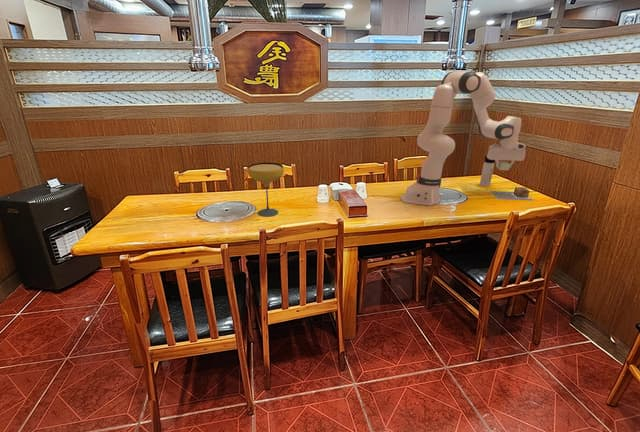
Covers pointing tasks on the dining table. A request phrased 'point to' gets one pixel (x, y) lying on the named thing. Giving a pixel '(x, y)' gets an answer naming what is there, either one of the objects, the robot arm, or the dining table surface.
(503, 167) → the sage block
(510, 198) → the build board
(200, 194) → the dining table surface
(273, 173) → the cocktail glass
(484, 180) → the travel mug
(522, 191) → the walnut block
